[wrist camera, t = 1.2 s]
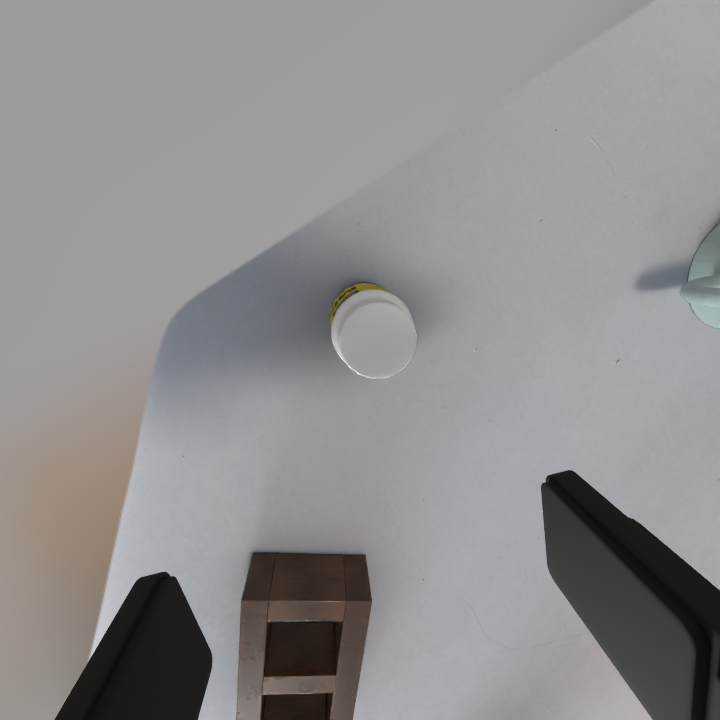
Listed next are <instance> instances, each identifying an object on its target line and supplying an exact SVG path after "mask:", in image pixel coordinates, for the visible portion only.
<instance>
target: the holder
mask: <svg viewBox="0 0 720 720" xmlns="http://www.w3.org/2000/svg"><path fill="white" fill-rule="evenodd" d="M371 604H372V598H371V591H370V584H369V576H368V569H367V562H366V556H365V555H333V554H289V553H277V554H276V553H253V554H252V558H251V563H250V567H249V571H248V575H247V579H246V583H245V587H244V591H243V595H242V599H241V617H240V641H239V665H238V689H237V713H236V720H353V714H354V708H355V702H356V696H357V690H358V683H359V677H360V671H361V665H362V659H363V653H364V647H365V641H366V635H367V628H368V622H369V616H370V610H371ZM272 621H335V623H272Z"/></svg>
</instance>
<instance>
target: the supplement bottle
mask: <svg viewBox="0 0 720 720" xmlns="http://www.w3.org/2000/svg"><path fill="white" fill-rule="evenodd" d="M330 322H331V338H332V342H333V345H334V348H335V350H336V352H337V353H338V355H339V356H340V358H341V359H342V360H343V361H344V362H345V363H346V364H347V365H348V366H349V367H350V368H351V369H352V370H353V371H354V372H356V373H358V374H359V375H362V376H364V377H368V378H376V379H378V378H386V377H389V376H392V375H394V374H396V373H398V372H399V371H401V370H402V369H403V368H404V367H405V366H406V365H407V364H408V363H409V362H410V360H411V359H412V357H413V354H414V352H415V349H416V344H417V334H416V329H415V326H414V323H413V320H412V317H411V314H410V312H409V310H408V308H407V306H406V305H405V304H404V303H403V302H402V301H401V300H400V299H399V298H398V297H397V296H395V295H394V294H392V293H390V292H388V291H387V290H385V289H383V288H381V287H380V286H378V285H375V284H372V283H367V282H361V283H355V284H352V285H350V286H348V287H346V288H344V289H343V290H342V291H341V292H340V293H339V294H338V295H337V296H336V298H335V300H334V302H333V304H332V307H331V313H330Z"/></svg>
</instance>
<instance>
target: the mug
mask: <svg viewBox="0 0 720 720" xmlns="http://www.w3.org/2000/svg"><path fill="white" fill-rule="evenodd" d="M680 296H681V297H682V298H683V299H684V300H685V301H687V302H690V304H691V307H692V309H693V311H694V313H695V314H696V316H697V317H698V318H699V319H700V320H701V321H702V322H704V323H705V324H707V325H709V326H711V327H714V328H718V329H720V223H719V224H718V225H717V226H716V227H715V228H714V229H713V230H712V231H711V232H710V233H709V234H708V236H707V237H706V238H705V239H704V241H703V242H702V244H701V245H700V247H699V249H698V251H697V253H696V255H695V257H694V259H693V262H692V265H691V268H690V272H689V277H688V282H687V283H685V284H684V285H683V286H682V288H681V289H680Z"/></svg>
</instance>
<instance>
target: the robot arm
mask: <svg viewBox="0 0 720 720" xmlns="http://www.w3.org/2000/svg"><path fill="white" fill-rule="evenodd" d="M541 493H542V505H543V518H544V530H545V542H546V554H547V565H548V569H549V572H550V574H551V576H552V578H553V580H554V581H555V583H556V584H557V586H558V587H559V589H560V590H561V591H562V593H563V594H564V596H565V597H566V598H567V600H568V601H569V603H570V604H571V605H572V607H573V608H574V610H575V611H576V612H577V614H578V615H579V617H580V618H581V619H582V621H583V622H584V624H585V625H586V626H587V628H588V629H589V631H590V632H591V634H592V635H593V636H594V638H595V639H596V641H597V642H598V643H599V645H600V646H601V648H602V649H603V650H604V652H605V653H606V655H607V656H608V657H609V659H610V660H611V662H612V663H613V664H614V666H615V667H616V669H617V670H618V671H619V673H620V674H621V676H622V677H623V678H624V680H625V681H626V683H627V684H628V685H629V687H630V688H631V690H632V691H633V693H634V694H635V695H636V697H637V698H638V700H639V701H640V702H641V704H642V705H643V707H644V708H645V709H646V711H647V712H648V714H649V715H650V716H651V718H652V719H653V720H720V590H718V589H717V588H716V587H715V586H714V585H712V584H711V583H710V582H709V581H708V580H707V579H705V578H704V577H703V576H702V575H701V574H699V573H698V572H697V571H696V570H695V569H693V568H692V567H691V566H690V565H689V564H687V563H686V562H685V561H684V560H683V559H682V558H680V557H679V556H678V555H677V554H676V553H674V552H673V551H672V550H671V549H670V548H668V547H667V546H666V545H665V544H664V543H662V542H661V541H660V540H659V539H658V538H657V537H655V536H654V535H653V534H652V533H651V532H649V531H648V530H647V529H646V528H645V527H643V526H642V525H641V524H640V523H638V522H637V521H635V520H634V519H631V518H628V517H627V516H626V515H624V514H623V513H622V512H621V511H620V510H618V509H617V508H616V507H615V506H614V505H613V504H611V503H610V502H609V501H608V500H607V499H606V498H604V497H603V496H602V495H601V494H600V493H599V492H597V491H596V490H595V489H594V488H593V487H592V486H590V485H589V484H588V483H587V482H586V481H584V480H583V479H582V478H581V477H580V476H579V475H577V474H576V473H575V472H573V471H571V470H568V471H564V472H560V473H556V474H552V475H548V476H547V478H546V483H542V485H541ZM211 669H212V653H211V650H210V648H209V646H208V644H207V642H206V640H205V638H204V636H203V633H202V631H201V629H200V627H199V625H198V623H197V621H196V619H195V617H194V614H193V612H192V610H191V608H190V606H189V604H188V602H187V600H186V597H185V595H184V593H183V591H182V589H181V587H180V585H179V583H178V581H177V579H176V577H174V576H172V577H170V575H169V574H168V573H167V572H161V573H157V574H153V575H149V576H145V577H141V578H139V579H138V580H137V581H136V582H135V584H134V585H133V587H132V589H131V591H130V592H129V594H128V596H127V597H126V599H125V601H124V602H123V604H122V606H121V608H120V609H119V611H118V613H117V614H116V616H115V618H114V619H113V621H112V623H111V625H110V626H109V628H108V630H107V631H106V633H105V635H104V636H103V638H102V640H101V642H100V643H99V645H98V647H97V648H96V650H95V652H94V653H93V655H92V657H91V659H90V660H89V662H88V664H87V665H86V667H85V669H84V670H83V672H82V674H81V676H80V677H79V679H78V681H77V682H76V684H75V686H74V687H73V689H72V691H71V693H70V694H69V696H68V698H67V699H66V701H65V703H64V705H63V706H62V708H61V710H60V711H59V713H58V715H57V717H56V718H55V720H198V716H199V713H200V709H201V705H202V702H203V698H204V695H205V691H206V687H207V684H208V680H209V677H210V673H211Z"/></svg>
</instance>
